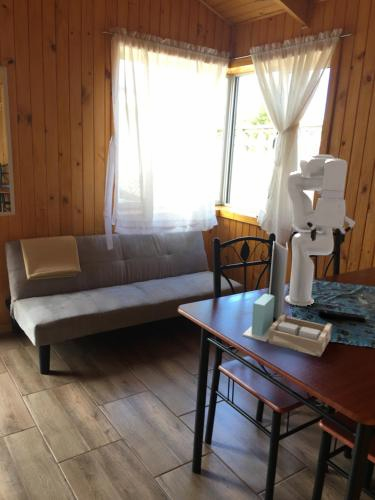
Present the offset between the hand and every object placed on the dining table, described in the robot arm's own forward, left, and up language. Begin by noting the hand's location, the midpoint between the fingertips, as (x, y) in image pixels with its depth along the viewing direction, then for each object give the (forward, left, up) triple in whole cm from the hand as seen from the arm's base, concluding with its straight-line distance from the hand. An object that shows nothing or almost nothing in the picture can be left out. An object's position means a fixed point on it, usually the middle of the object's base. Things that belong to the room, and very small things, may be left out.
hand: (327, 242), depth 150 cm
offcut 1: (+17, -7, -34) cm, 39 cm away
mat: (+13, -17, -34) cm, 41 cm away
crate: (+14, -3, -34) cm, 37 cm away
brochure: (-3, -18, -34) cm, 39 cm away
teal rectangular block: (+13, -17, -34) cm, 40 cm away
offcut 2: (+17, +1, -34) cm, 38 cm away
